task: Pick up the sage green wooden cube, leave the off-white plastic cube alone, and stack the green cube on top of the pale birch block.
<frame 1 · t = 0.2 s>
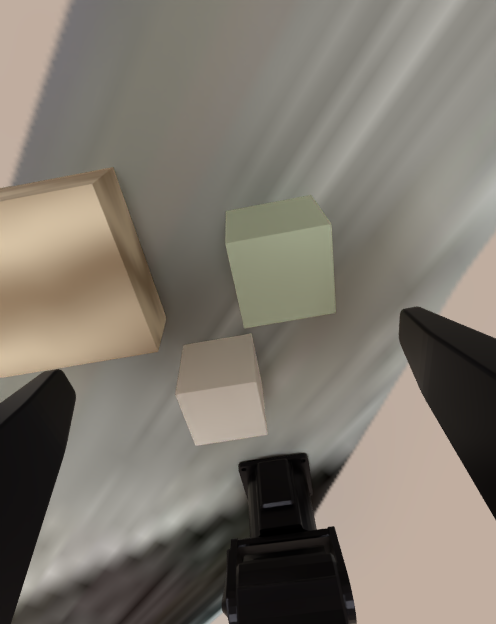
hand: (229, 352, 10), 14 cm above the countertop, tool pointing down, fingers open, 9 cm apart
birch block: (66, 263, 23), on the countertop
sage cube: (273, 242, 23), on the countertop
white cube: (224, 364, 28), on the countertop
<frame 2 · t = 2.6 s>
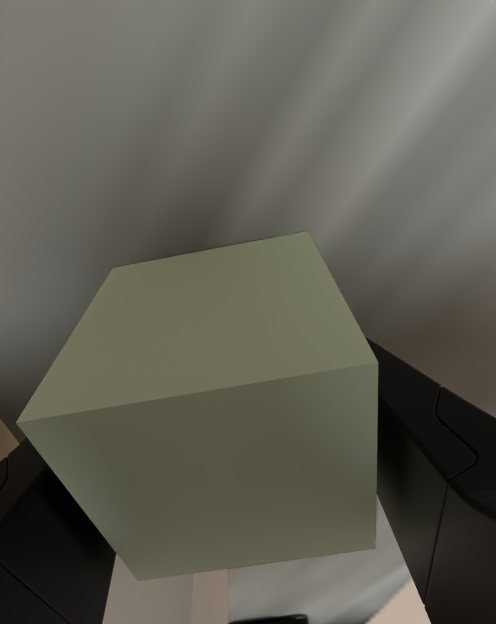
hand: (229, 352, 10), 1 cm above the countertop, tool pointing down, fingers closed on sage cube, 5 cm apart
sage cube: (229, 329, 10), on the countertop, touching gripper
white cube: (158, 517, 16), on the countertop
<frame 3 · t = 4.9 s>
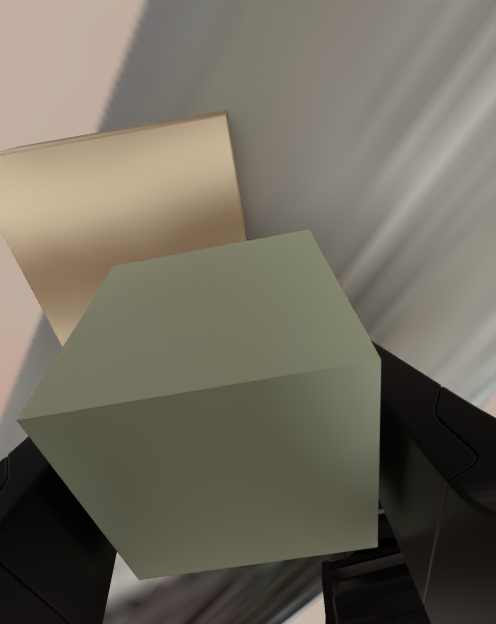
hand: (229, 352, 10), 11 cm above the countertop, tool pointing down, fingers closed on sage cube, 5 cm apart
birch block: (151, 231, 20), on the countertop
sage cube: (230, 328, 10), point 10 cm above the countertop, touching gripper
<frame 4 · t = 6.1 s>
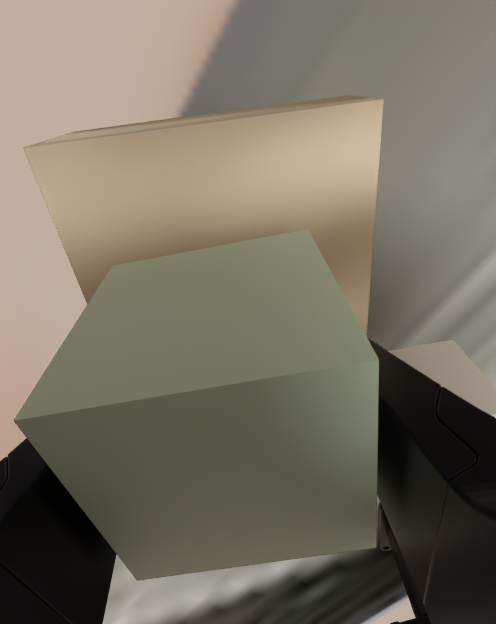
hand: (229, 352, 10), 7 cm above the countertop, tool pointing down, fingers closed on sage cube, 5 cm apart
birch block: (227, 241, 16), on the countertop
sage cube: (229, 328, 10), point 6 cm above the countertop, touching gripper
white cube: (402, 381, 21), on the countertop
when the fingers open (6 cm above the countertop, at t = 7.2 s): sage cube drops 1 cm, point 4 cm above the countertop.
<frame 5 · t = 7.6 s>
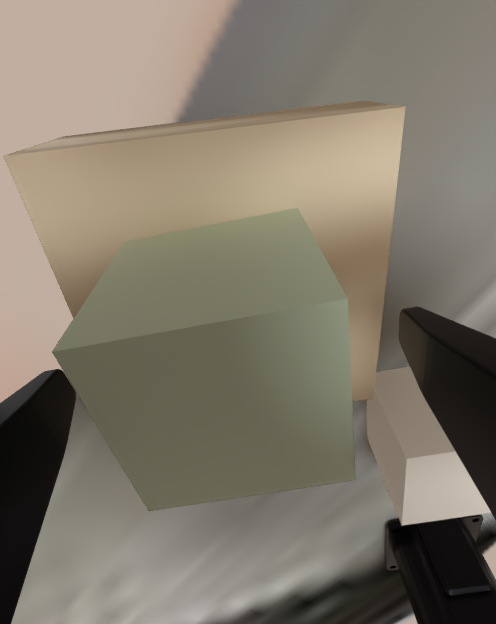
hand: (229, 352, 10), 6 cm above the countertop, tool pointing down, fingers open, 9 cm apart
birch block: (229, 254, 15), on the countertop
sage cube: (228, 300, 12), point 4 cm above the countertop
white cube: (412, 399, 20), on the countertop
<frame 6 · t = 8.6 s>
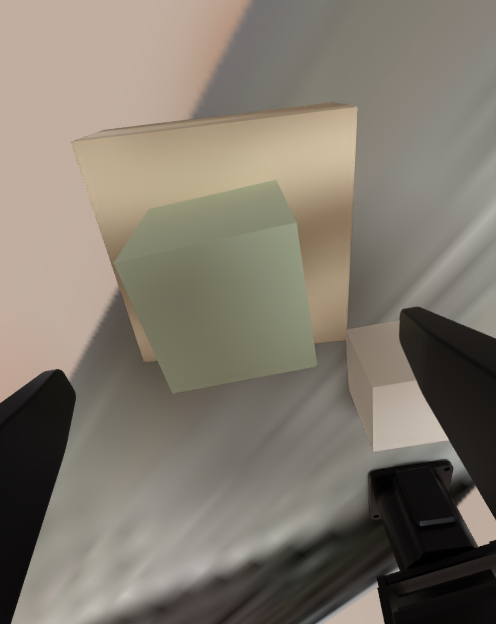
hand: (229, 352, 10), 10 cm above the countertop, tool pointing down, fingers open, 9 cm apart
birch block: (231, 226, 19), on the countertop, touching sage cube
sage cube: (227, 254, 15), point 4 cm above the countertop, touching birch block
white cube: (386, 353, 23), on the countertop
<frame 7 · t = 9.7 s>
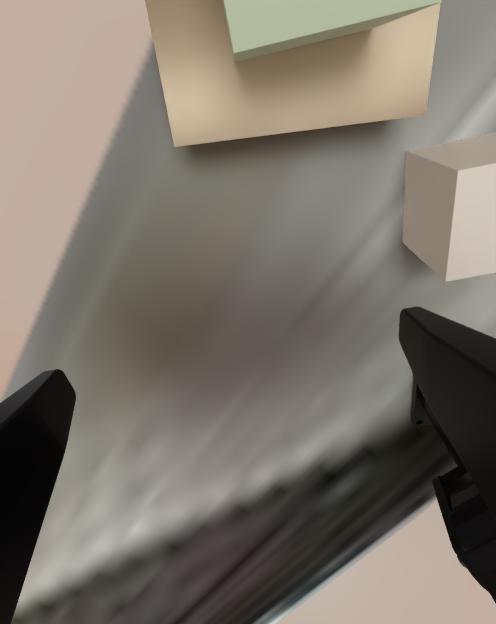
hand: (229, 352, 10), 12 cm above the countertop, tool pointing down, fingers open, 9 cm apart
white cube: (450, 189, 20), on the countertop
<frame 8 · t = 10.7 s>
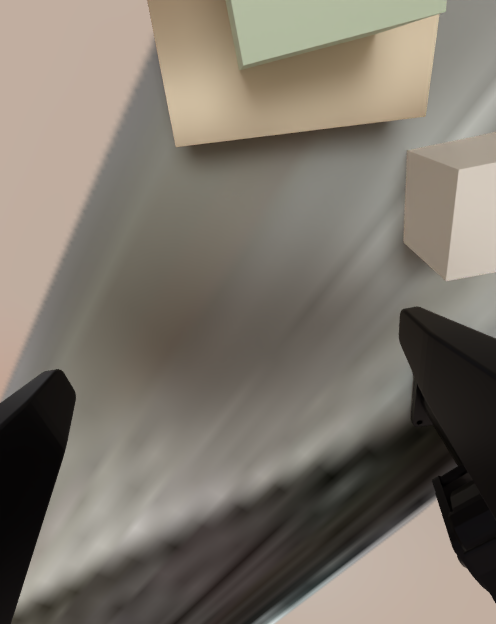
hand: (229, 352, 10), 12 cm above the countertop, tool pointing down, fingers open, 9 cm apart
white cube: (451, 189, 20), on the countertop
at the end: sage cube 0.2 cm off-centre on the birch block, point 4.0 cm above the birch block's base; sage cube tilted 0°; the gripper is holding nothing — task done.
